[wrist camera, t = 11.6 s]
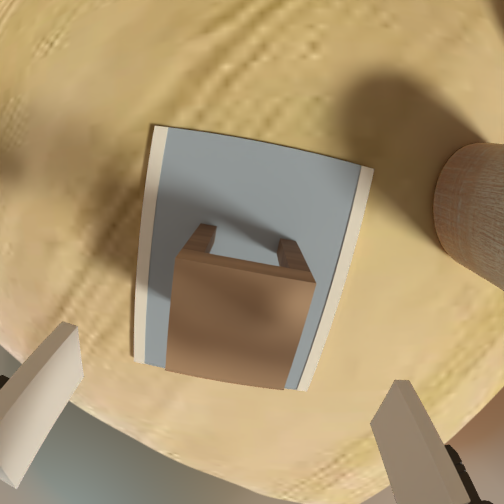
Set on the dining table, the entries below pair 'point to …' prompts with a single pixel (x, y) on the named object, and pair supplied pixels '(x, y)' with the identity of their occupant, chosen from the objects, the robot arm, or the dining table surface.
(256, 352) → the stool
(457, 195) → the planter
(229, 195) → the rug
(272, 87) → the dining table surface
